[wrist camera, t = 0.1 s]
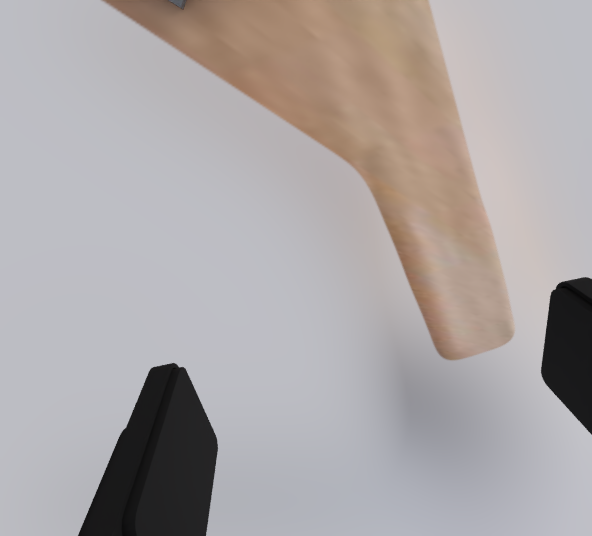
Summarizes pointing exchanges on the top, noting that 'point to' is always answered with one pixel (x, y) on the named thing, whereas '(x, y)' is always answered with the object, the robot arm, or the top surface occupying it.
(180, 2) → the collar stand
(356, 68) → the top surface
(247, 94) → the top surface
